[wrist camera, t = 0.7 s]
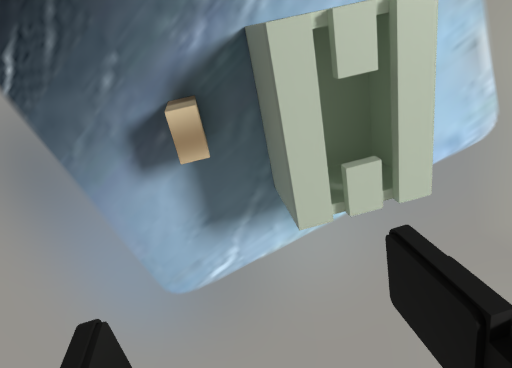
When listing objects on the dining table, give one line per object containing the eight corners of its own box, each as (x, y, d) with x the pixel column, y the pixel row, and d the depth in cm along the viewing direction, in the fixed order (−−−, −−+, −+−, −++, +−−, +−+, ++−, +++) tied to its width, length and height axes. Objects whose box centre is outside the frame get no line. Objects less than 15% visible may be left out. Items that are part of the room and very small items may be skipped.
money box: (244, 26, 30) (265, 22, 21) (372, -1, 31) (438, -15, 23) (274, 187, 36) (299, 230, 28) (378, 160, 37) (431, 194, 29)
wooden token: (168, 101, 31) (164, 112, 26) (194, 95, 31) (195, 105, 27) (181, 147, 33) (180, 164, 28) (207, 141, 33) (209, 157, 29)
